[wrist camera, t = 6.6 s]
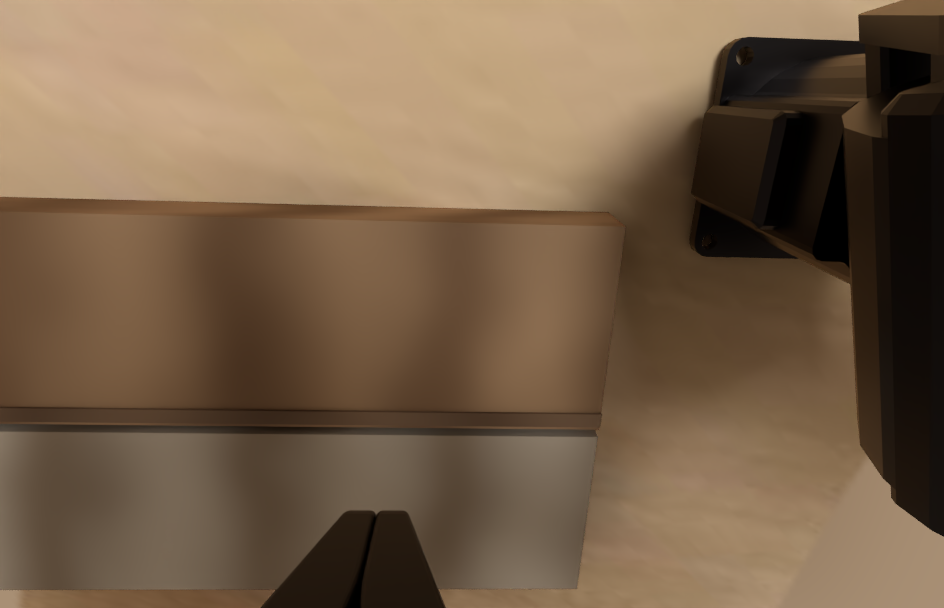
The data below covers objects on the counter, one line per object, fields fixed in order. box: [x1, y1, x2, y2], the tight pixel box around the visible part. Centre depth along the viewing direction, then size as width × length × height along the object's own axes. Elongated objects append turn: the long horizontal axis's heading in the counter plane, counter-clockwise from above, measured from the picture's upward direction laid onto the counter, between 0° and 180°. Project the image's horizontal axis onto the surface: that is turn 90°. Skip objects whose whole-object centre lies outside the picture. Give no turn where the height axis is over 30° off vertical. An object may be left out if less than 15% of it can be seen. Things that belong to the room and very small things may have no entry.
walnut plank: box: [0, 197, 626, 430], centre depth 18 cm, size 22×7×2 cm, turn 88°
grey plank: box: [0, 424, 598, 590], centre depth 21 cm, size 22×7×2 cm, turn 88°
